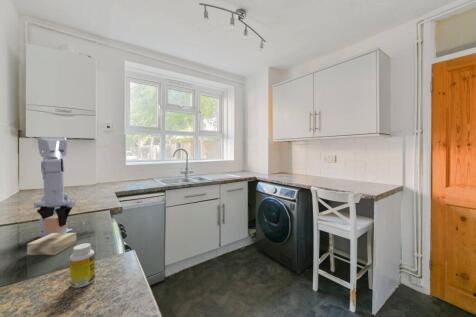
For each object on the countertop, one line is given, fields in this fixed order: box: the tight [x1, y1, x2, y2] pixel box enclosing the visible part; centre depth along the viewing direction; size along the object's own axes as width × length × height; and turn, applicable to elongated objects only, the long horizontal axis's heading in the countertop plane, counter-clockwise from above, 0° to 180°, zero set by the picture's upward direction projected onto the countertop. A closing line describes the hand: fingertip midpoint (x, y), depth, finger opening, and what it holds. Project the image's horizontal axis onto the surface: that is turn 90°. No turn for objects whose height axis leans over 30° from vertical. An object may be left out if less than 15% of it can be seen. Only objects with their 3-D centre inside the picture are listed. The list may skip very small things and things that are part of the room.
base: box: [26, 232, 77, 256], centre depth 81 cm, size 10×10×4 cm
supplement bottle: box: [69, 242, 96, 289], centre depth 59 cm, size 6×6×10 cm
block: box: [44, 215, 68, 232], centre depth 82 cm, size 5×5×5 cm
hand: (56, 225), depth 82 cm, fingers closed on block, 5 cm apart
